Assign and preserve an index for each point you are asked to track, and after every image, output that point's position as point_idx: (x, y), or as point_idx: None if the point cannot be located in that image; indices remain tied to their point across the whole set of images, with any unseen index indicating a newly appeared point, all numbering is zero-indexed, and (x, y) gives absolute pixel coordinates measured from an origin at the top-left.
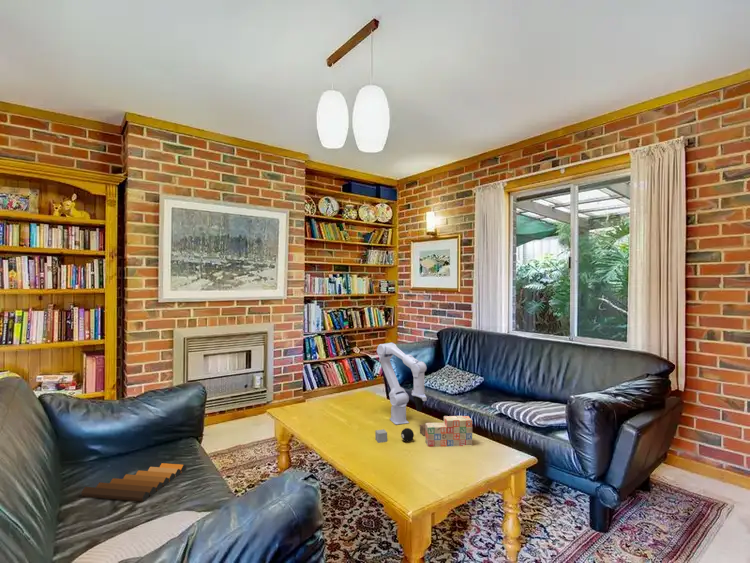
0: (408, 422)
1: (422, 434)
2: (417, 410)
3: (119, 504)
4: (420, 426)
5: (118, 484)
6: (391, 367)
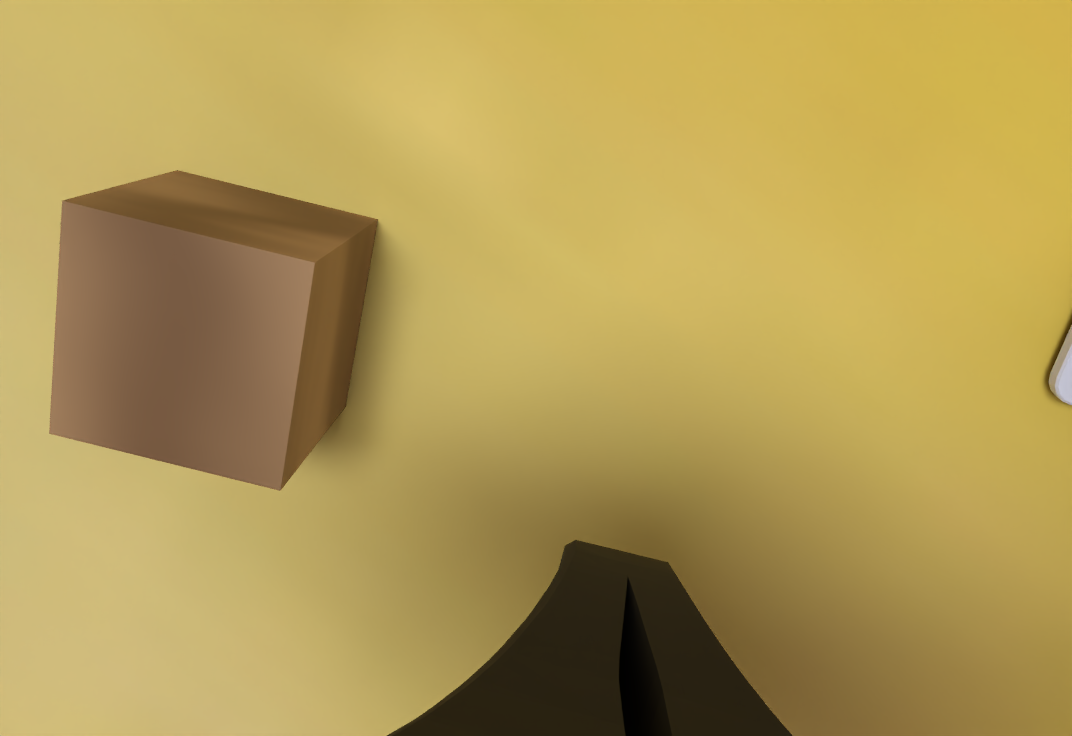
0: (1053, 383)
1: (232, 188)
2: (595, 552)
3: None
4: (291, 245)
5: None
6: None
